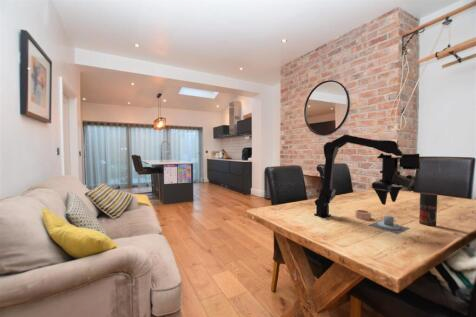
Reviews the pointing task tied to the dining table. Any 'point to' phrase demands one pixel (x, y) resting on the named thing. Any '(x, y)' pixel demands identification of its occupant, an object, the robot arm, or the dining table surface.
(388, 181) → the robot arm
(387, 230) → the mat
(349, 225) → the dining table surface
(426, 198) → the deodorant
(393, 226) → the lid
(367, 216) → the pink block
